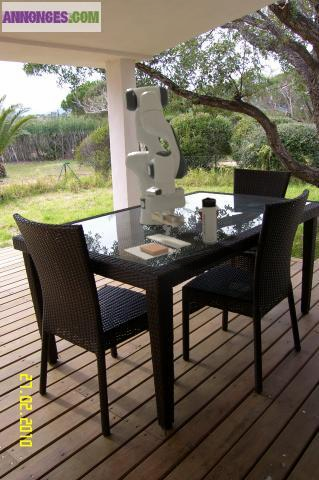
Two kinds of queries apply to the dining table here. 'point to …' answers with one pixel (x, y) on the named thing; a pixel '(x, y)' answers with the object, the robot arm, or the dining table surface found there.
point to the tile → (154, 249)
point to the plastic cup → (201, 212)
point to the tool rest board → (168, 240)
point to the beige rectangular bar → (169, 219)
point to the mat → (143, 254)
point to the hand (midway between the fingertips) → (166, 219)
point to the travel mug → (209, 221)
